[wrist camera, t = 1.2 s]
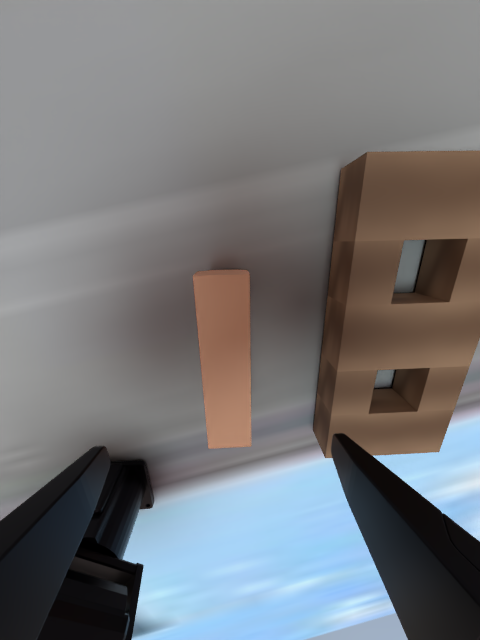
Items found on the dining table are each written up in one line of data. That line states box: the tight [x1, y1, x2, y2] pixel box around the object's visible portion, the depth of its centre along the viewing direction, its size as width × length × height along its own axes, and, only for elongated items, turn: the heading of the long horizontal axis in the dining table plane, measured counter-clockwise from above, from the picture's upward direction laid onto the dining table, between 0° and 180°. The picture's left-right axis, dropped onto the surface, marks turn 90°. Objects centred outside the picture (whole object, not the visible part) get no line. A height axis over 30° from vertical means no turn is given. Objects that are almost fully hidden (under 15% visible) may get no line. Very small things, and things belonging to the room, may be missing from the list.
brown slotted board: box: [313, 151, 480, 458], centre depth 17 cm, size 22×10×3 cm, turn 1°
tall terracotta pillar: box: [193, 269, 251, 449], centre depth 16 cm, size 12×3×5 cm, turn 1°
